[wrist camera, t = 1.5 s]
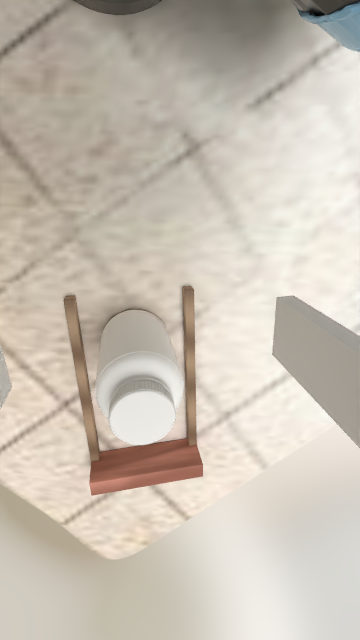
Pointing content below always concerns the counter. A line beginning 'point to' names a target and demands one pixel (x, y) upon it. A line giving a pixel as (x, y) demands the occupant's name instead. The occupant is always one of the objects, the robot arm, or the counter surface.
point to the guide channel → (145, 460)
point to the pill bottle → (138, 378)
